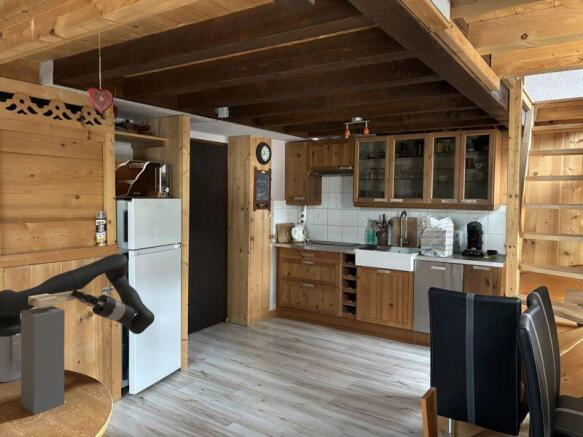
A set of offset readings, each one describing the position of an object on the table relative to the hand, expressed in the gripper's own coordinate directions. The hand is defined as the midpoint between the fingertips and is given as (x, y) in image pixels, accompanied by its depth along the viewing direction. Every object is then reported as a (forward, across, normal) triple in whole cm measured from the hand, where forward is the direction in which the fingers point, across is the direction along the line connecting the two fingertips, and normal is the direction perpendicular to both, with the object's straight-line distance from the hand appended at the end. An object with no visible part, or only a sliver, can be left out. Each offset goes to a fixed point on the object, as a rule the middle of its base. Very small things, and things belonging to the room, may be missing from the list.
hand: (70, 291), depth 150 cm
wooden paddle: (+2, 0, +4) cm, 5 cm away
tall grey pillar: (-11, 0, +36) cm, 38 cm away
